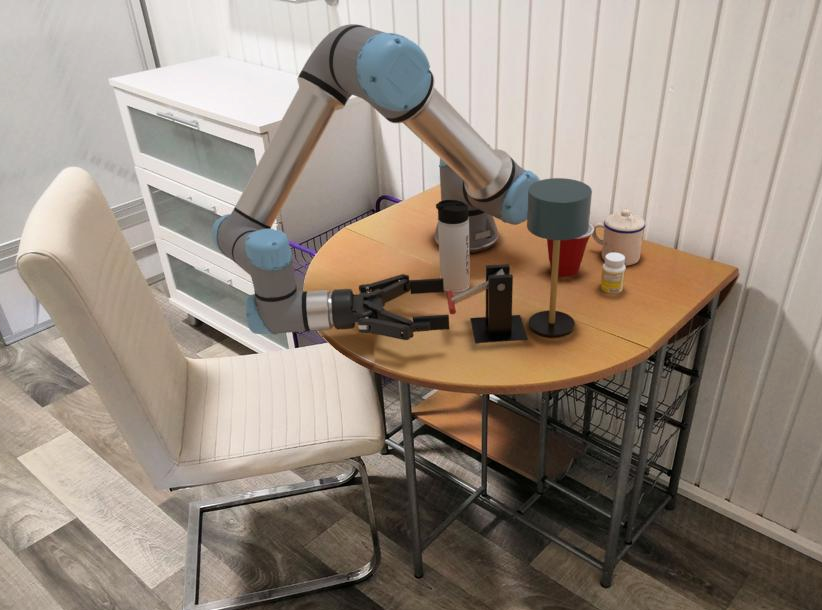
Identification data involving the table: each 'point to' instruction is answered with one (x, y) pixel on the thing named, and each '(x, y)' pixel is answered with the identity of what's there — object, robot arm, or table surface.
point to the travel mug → (454, 245)
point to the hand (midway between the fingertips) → (446, 302)
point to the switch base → (498, 310)
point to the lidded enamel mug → (622, 235)
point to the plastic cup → (570, 253)
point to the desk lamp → (557, 238)
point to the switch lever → (468, 293)
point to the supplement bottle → (613, 273)
